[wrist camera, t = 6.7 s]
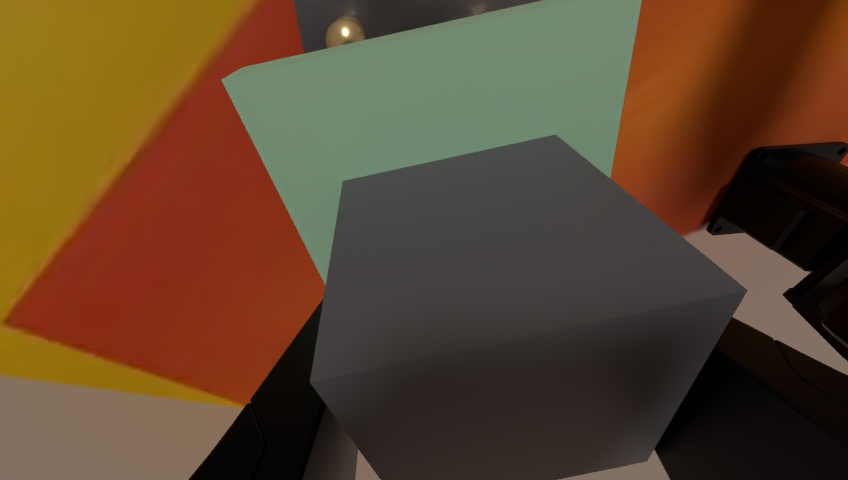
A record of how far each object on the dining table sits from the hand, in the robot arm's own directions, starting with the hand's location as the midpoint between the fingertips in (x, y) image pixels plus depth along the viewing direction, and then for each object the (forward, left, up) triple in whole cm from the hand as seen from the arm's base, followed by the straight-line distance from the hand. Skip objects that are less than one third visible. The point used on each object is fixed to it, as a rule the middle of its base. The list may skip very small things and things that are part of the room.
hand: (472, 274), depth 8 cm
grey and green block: (0, 0, -2) cm, 2 cm away
